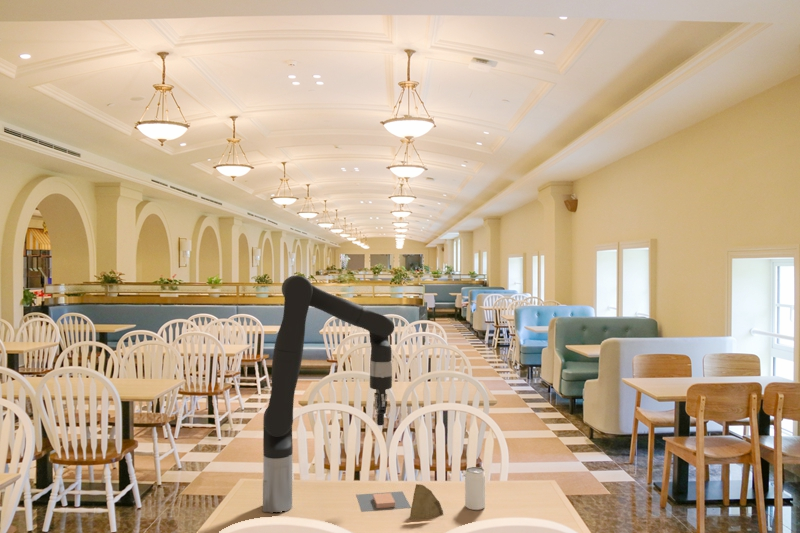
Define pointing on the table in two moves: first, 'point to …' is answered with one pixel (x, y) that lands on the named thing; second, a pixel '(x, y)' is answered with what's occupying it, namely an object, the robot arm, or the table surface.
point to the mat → (369, 505)
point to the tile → (383, 500)
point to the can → (475, 488)
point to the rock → (424, 504)
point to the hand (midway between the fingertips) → (380, 424)
